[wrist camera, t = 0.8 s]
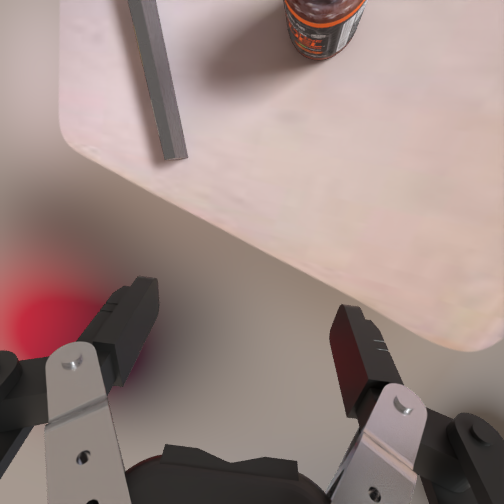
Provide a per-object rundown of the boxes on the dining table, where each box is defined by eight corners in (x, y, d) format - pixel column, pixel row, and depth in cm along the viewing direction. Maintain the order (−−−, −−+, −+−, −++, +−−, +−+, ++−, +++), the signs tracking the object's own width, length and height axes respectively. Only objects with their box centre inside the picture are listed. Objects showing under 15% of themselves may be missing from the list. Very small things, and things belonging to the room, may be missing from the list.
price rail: (123, -76, 24) (99, -106, 22) (138, -82, 24) (116, -113, 21) (175, 159, 30) (162, 160, 28) (188, 157, 30) (175, 157, 27)
